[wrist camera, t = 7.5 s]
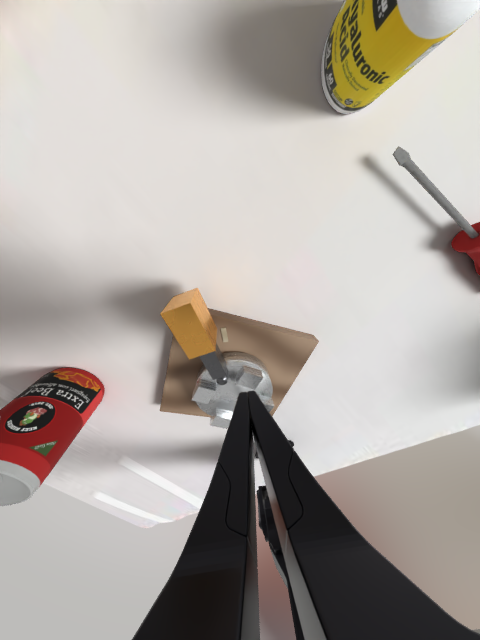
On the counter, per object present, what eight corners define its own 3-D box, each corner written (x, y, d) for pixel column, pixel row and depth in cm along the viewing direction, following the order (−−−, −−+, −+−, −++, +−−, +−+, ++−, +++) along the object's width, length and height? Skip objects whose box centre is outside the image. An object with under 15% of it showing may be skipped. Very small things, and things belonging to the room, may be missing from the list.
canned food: (113, 377, 24) (38, 475, 14) (99, 410, 27) (29, 510, 17) (48, 357, 22) (-92, 458, 12) (41, 395, 25) (-79, 502, 15)
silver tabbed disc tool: (275, 392, 26) (285, 423, 22) (214, 411, 27) (212, 444, 22) (232, 273, 17) (235, 286, 13) (142, 306, 18) (118, 328, 14)
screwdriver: (394, 135, 15) (439, 109, 12) (515, 270, 22) (563, 277, 19) (364, 180, 16) (397, 167, 13) (487, 294, 23) (528, 304, 20)
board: (265, 415, 31) (267, 424, 30) (162, 402, 27) (159, 411, 26) (313, 335, 24) (319, 341, 22) (181, 301, 20) (177, 306, 18)
